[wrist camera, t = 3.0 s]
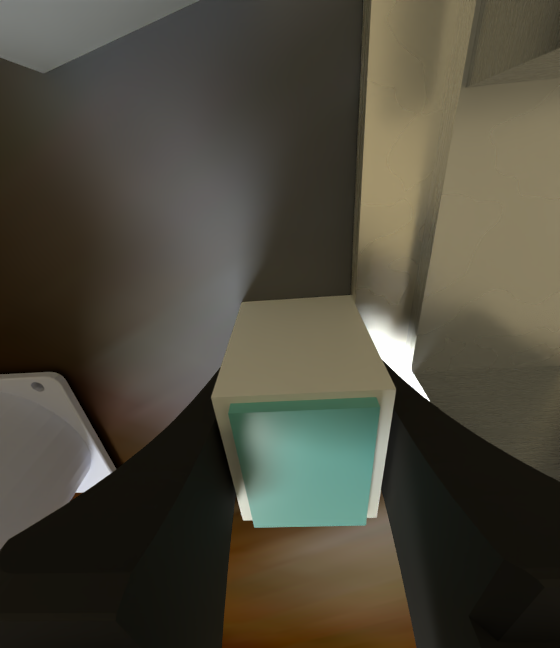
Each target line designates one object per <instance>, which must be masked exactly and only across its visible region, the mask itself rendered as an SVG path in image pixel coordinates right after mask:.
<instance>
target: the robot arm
mask: <svg viewBox="0 0 560 648" xmlns="http://www.w3.org/2000/svg"><path fill="white" fill-rule="evenodd" d="M382 361H383V360H382ZM383 363H384V365H385V367H386V369H387V371H388V373H389V375H390V377H391V379H392V381H393V383H394V385H395V388H396V394H395V400H394V407H393V413H392V420H391V427H390V433H389V440H388V446H387V453H386V459H385V466H384V472H383V479H382V485H381V490H382V494H383V497H384V501H385V505H386V509H387V513H388V518H389V522H390V526H391V530H392V534H393V539H394V543H395V547H396V552H397V556H398V561H399V565H400V569H401V574H402V579H403V583H404V588H405V593H406V597H407V602H408V607H409V611H410V616H411V621H412V626H413V631H414V636H415V641H416V646H417V648H560V482H559V481H558V480H556V479H554V478H552V477H550V476H548V475H546V474H544V473H542V472H540V471H538V470H536V469H535V468H533V467H531V466H529V465H527V464H525V463H524V462H522V461H520V460H518V459H516V458H515V457H513V456H511V455H510V454H508V453H506V452H504V451H503V450H501V449H499V448H498V447H496V446H494V445H493V444H491V443H489V442H488V441H486V440H484V439H483V438H481V437H480V436H478V435H476V434H475V433H473V432H472V431H470V430H469V429H467V428H466V427H464V426H463V425H461V424H460V423H458V422H457V421H456V420H454V419H453V418H451V417H450V416H448V415H447V414H446V413H444V412H443V411H442V410H440V409H439V408H438V407H436V406H435V405H434V404H432V403H431V402H430V401H429V400H427V399H426V398H425V397H424V396H422V395H421V394H420V393H419V392H417V391H416V390H415V389H414V388H413V387H412V386H411V385H409V384H408V383H407V382H406V381H405V380H404V379H403V378H401V377H400V376H399V375H398V374H397V373H396V372H395V371H394V370H393V369H392V368H391V367H390V366H389V365H387V364H386V363H385V362H384V361H383ZM220 368H221V367H220ZM220 368H219V370H218V371H217V372H216V373H215V375H214V376H213V377H212V378H211V380H210V381H209V382H208V383H207V384H206V386H205V387H204V388H203V389H202V390H201V391H200V393H199V394H198V395H197V396H196V397H195V398H194V400H193V401H192V402H191V403H190V404H189V405H188V406H187V407H186V408H185V409H184V410H183V411H182V412H181V413H180V415H179V416H178V417H177V418H176V419H175V420H174V421H173V422H172V423H171V424H170V425H169V426H168V427H167V428H165V429H164V430H163V431H162V432H161V433H160V434H159V435H158V436H157V437H156V438H154V439H153V440H152V441H151V442H150V443H149V444H148V445H146V446H145V447H144V448H143V449H141V450H140V451H139V452H138V453H136V454H135V455H134V456H133V457H131V458H130V459H129V460H127V461H126V462H125V463H124V464H122V465H121V466H120V467H119V468H117V469H116V468H115V466H114V464H113V462H112V461H111V459H110V457H109V455H108V454H107V452H106V450H105V448H104V446H103V445H102V443H101V441H100V439H99V438H98V436H97V434H96V432H95V431H94V429H93V427H92V425H91V423H90V422H89V420H88V418H87V416H86V415H85V413H84V411H83V409H82V408H81V406H80V404H79V402H78V401H77V399H76V397H75V395H74V393H73V392H72V390H71V388H70V386H69V385H68V383H67V381H66V379H65V378H64V377H63V376H62V375H60V374H58V373H55V372H36V373H17V374H0V648H222V635H223V621H224V608H225V596H226V584H227V572H228V562H229V551H230V541H231V531H232V522H233V513H234V503H235V497H236V491H235V487H234V484H233V480H232V476H231V472H230V468H229V464H228V461H227V457H226V453H225V449H224V445H223V442H222V438H221V434H220V430H219V426H218V422H217V419H216V415H215V411H214V407H213V403H212V399H211V396H212V393H213V390H214V387H215V384H216V381H217V377H218V374H219V371H220ZM76 492H84V493H82V494H81V495H79V496H78V497H76V498H75V499H73V500H72V501H70V500H71V499H72V497H73V495H74V494H75V493H76Z"/></svg>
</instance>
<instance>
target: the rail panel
mask: <svg viewBox="0 0 560 648" xmlns="http://www.w3.org/2000/svg"><path fill="white" fill-rule="evenodd" d="M351 297H352V299H353V301H354V303H355V305H356V307H357V309H358V311H359V313H360V316H361V318H362V320H363V322H364V324H365V326H366V328H367V330H368V332H369V334H370V336H371V338H372V340H373V342H374V344H375V346H376V348H377V351H378V353H379V355H380V357H381V359H382V360H383V361H384V362H385V363H386V364H387V365H389V366H390V367H391V368H392V369H393V370H394V371H395V372H396V373H397V374H398V375H399V376H400V377H401V378H403V379H404V380H405V381H406V382H407V383H408V384H409V385H411V386H412V387H413V388H414V389H415V390H416V391H417V392H419V393H420V394H421V395H422V396H424V397H425V398H426V399H427V400H429V401H430V402H431V403H432V404H434V405H435V406H436V407H438V408H439V409H440V410H442V411H443V412H444V413H446V414H447V415H448V416H450V417H451V418H453V419H454V420H456V421H457V422H458V423H460V424H461V425H463V426H464V427H466V428H467V429H469V430H470V431H472V432H473V433H475V434H476V435H478V436H480V437H481V438H483V439H484V440H486V441H488V442H489V443H491V444H493V445H494V446H496V447H498V448H499V449H501V450H503V451H504V452H506V453H508V454H510V455H511V456H513V457H515V458H516V459H518V460H520V461H522V462H524V463H525V464H527V465H529V466H531V467H533V468H535V469H536V470H538V471H540V472H542V473H544V474H546V475H548V476H550V477H552V478H554V479H556V480H558V481H559V482H560V0H364V3H363V26H362V49H361V71H360V94H359V117H358V140H357V163H356V186H355V209H354V232H353V254H352V277H351Z"/></svg>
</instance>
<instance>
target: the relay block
mask: <svg viewBox="0 0 560 648" xmlns="http://www.w3.org/2000/svg"><path fill="white" fill-rule="evenodd" d="M197 1H200V0H0V58H3V59H6V60H8V61H11V62H14V63H16V64H19V65H22V66H25V67H27V68H30V69H33V70H35V71H38V72H41V73H43V74H44V73H46V72H48V71H50V70H52V69H55V68H57V67H59V66H61V65H63V64H65V63H67V62H69V61H72V60H74V59H76V58H78V57H80V56H82V55H84V54H87V53H89V52H91V51H93V50H95V49H97V48H99V47H101V46H104V45H106V44H108V43H110V42H112V41H114V40H116V39H119V38H121V37H123V36H125V35H127V34H129V33H131V32H133V31H136V30H138V29H140V28H142V27H144V26H146V25H148V24H151V23H153V22H155V21H157V20H159V19H161V18H163V17H165V16H168V15H170V14H172V13H174V12H176V11H178V10H180V9H182V8H185V7H187V6H189V5H191V4H193V3H195V2H197Z"/></svg>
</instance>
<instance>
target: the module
mask: <svg viewBox="0 0 560 648" xmlns="http://www.w3.org/2000/svg"><path fill="white" fill-rule="evenodd" d="M395 394H396V388H395V385H394V383H393V381H392V379H391V377H390V375H389V373H388V371H387V369H386V367H385V365H384V363H383V361H382V359H381V357H380V355H379V353H378V351H377V348H376V346H375V344H374V342H373V340H372V338H371V336H370V334H369V332H368V330H367V328H366V326H365V324H364V322H363V320H362V318H361V316H360V313H359V311H358V309H357V307H356V305H355V303H354V301H353V299H352V297H351V295H343V296H328V297H312V298H296V299H281V300H265V301H250V302H242V303H241V306H240V309H239V312H238V315H237V319H236V322H235V325H234V328H233V331H232V334H231V337H230V340H229V343H228V346H227V350H226V353H225V356H224V359H223V362H222V365H221V368H220V371H219V374H218V377H217V381H216V384H215V387H214V390H213V393H212V396H211V399H212V403H213V407H214V411H215V415H216V419H217V422H218V426H219V430H220V434H221V438H222V442H223V445H224V449H225V453H226V457H227V461H228V464H229V468H230V472H231V476H232V480H233V484H234V487H235V491H236V495H237V499H238V503H239V507H240V510H241V514H242V518H243V520H253V524H254V528H256V527H305V526H355V525H366V519H367V518H376V517H377V512H378V505H379V498H380V492H381V485H382V479H383V472H384V466H385V459H386V453H387V446H388V440H389V433H390V427H391V420H392V413H393V407H394V400H395Z"/></svg>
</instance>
